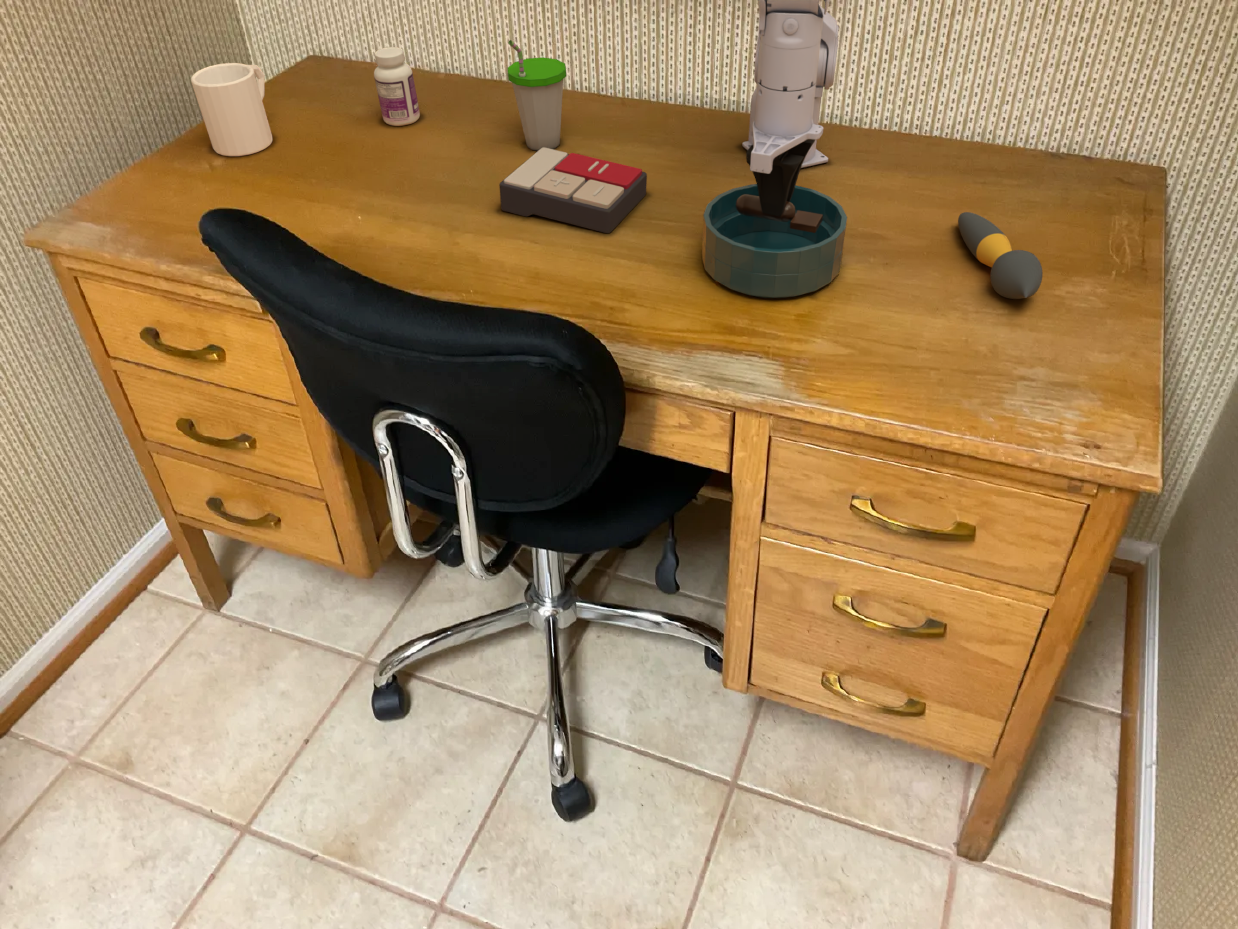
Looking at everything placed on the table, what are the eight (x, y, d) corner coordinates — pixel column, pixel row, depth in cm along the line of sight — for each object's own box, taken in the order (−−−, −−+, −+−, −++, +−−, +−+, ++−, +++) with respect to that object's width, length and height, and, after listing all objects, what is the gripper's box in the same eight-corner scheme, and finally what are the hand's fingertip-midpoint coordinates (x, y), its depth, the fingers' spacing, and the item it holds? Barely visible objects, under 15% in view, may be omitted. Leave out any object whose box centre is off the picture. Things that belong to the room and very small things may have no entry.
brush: (731, 218, 105) (732, 199, 104) (739, 206, 107) (741, 187, 106) (815, 233, 102) (817, 214, 101) (822, 221, 104) (824, 202, 103)
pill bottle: (402, 108, 144) (389, 41, 138) (427, 116, 142) (416, 48, 135) (375, 121, 141) (361, 53, 134) (401, 129, 138) (388, 61, 132)
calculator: (609, 206, 112) (497, 177, 117) (609, 239, 115) (499, 210, 120) (648, 166, 119) (541, 141, 124) (647, 198, 122) (542, 172, 127)
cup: (562, 128, 137) (554, 17, 127) (578, 150, 132) (571, 36, 122) (509, 137, 136) (496, 25, 125) (522, 160, 130) (510, 45, 120)
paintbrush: (929, 228, 113) (937, 188, 110) (969, 223, 114) (979, 184, 111) (1008, 322, 99) (1021, 280, 96) (1054, 316, 100) (1068, 274, 96)
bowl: (680, 247, 112) (681, 199, 108) (796, 220, 116) (801, 172, 112) (741, 315, 101) (744, 264, 97) (866, 282, 105) (874, 232, 101)
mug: (299, 124, 141) (281, 55, 134) (250, 159, 133) (229, 87, 126) (252, 118, 143) (232, 50, 136) (201, 152, 135) (178, 81, 128)
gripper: (806, 114, 89) (792, 246, 98) (845, 59, 98) (830, 184, 108) (732, 103, 91) (726, 234, 100) (778, 51, 101) (768, 174, 110)
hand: (775, 207), depth 104 cm, fingers closed on brush, 2 cm apart
